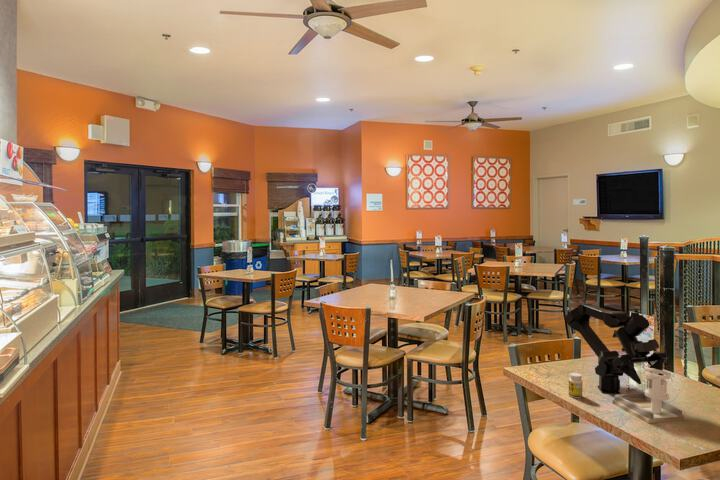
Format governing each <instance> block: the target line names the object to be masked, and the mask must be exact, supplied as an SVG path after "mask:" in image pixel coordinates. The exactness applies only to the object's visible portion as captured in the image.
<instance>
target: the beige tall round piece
mask: <svg viewBox="0 0 720 480" xmlns="http://www.w3.org/2000/svg"><path fill="white" fill-rule="evenodd" d="M654 373H655V374H654ZM659 373H660V374H664V376H661V375H659ZM645 379H647V389H645V390H644V392H645V395H646V396H647V397H649V398H651V412H652V413H655V414H661V405H662V401H668V400H669V399H670V394H669V393H668V392H667V389H668V386H667V385H668V381H667V380H669V379H671V374H670V372H668V371H665V370H663V371H662V370H657V369H654V368H650V367H645Z"/></svg>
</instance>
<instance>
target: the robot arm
mask: <svg viewBox="0 0 720 480" xmlns="http://www.w3.org/2000/svg"><path fill="white" fill-rule="evenodd" d="M639 313H640V312H632V313H631V314H630V316H629V315H628V313H627V312H625V311H616V310H615V311H614V310H613V311H612V310H609V309H606V308H603V307H599V306H598V305H597V306H596V305H594V304H592V303H587V302H586V303H580V304H579V305H578V306H577V307H575V308H573V309H571V310H570V311H569V312H568V313H567V314H566V315H565V319H564V320H565V322H566V324H567V325H568V326H569V328H571V329H572V330H574V331H577V332H578V333H579V334H580V335H581V337H582V338H583V340H584V341H586V344H587V345H588V346H589V347H590V348H591V350H592V351H593V352H594V354H595V355H596V356H597V365H596V366H595V368H594V371H595V374H596V375H598V376H599V377H598V385H597V388H598V390H599V391H600V392H601V393H602V394H604V393H605V394H616V395H620V394H621V392H620V390H621V380H620V377H623V375H624V374H625V375H626V376H628V377H629V378H630V379H632V380H633V381H634V382H635V383H637V385H641V384H642V381H641V378H640V376H639V374H638V372H637V370H636V368H635V364H639V363H640V364H641V363H647V364H648V365H649V368H654V369H657V370H662V371H664V367H663V366H664V363H665V362H666V361H667V360H668V359H669V358H668V355H667V354H666V352H663V351H658V350H657V349H659V348H660V344H659V342H658V340H657V339H655V338H654V339H653V338H652V339H649V340H648V341H645V342H643V341H642V340H638V338H637V337H639V336H640V335H641V334H642V333H643V332H645V331H646V330H647V329H648V328H649V327H650V321H649V320H648V319H647V318H646V317H645V316H643V315H640V314H639ZM591 318H595V319H598V320H600V321H602V322H603V324H604V325H605V326H607V327H608V328H611V329H614V328H615V329H616V328H618V329H617V330H615V329H614V330H613V334H612V338H614V339H615V338H616V339H618V341H619V343H620V344H621V347H622V348H621V349H620V350H621V352H625V354H620V353H619V352H618V351H617V350H609V348H608V347H607V346H606V344H605V343H604V342H603V341H602V339H601V338H600V337H599V335H597V333H596V332H595V331H594V329H593V328H592V327H591V325H590V320H591ZM653 351H654V352H653ZM651 352H653V353H652V354H651ZM648 355H649V356H648ZM653 374H655V373H653ZM659 375H661V376H665V375H664V374H660V373H659Z"/></svg>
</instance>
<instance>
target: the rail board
mask: <svg viewBox="0 0 720 480" xmlns="http://www.w3.org/2000/svg"><path fill="white" fill-rule="evenodd" d="M611 401H612V402H611V403H612V404H613V405H615V406H616V407H618V408H620V409H623V411H625V412H627V413H629V414H631V415H632V416H634V417H635V418H637V419H640V420H642V421H644V422H645V423H647V424H653V423H654V424H655V423H662V422H671V421H683V420H685V415H683V410H682V409H679V408H677V407H675V406H673V405H671V404H669V403H667V402H666V401H664V400H662V405H661V414H655V413H652V412H651V398H649V397H647V396H646V395H645V391H644V392H643V391H642V392H632V393H620V394H614V397H613V399H612V400H611Z"/></svg>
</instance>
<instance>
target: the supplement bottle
mask: <svg viewBox="0 0 720 480" xmlns="http://www.w3.org/2000/svg"><path fill="white" fill-rule="evenodd" d="M582 377H583V376H582V374H580V373H577V372H571V373H570V374H569V378H568V396H569V397H570V396H571V398H573V397H574V398H573V399H580V398H583V379H582Z"/></svg>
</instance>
